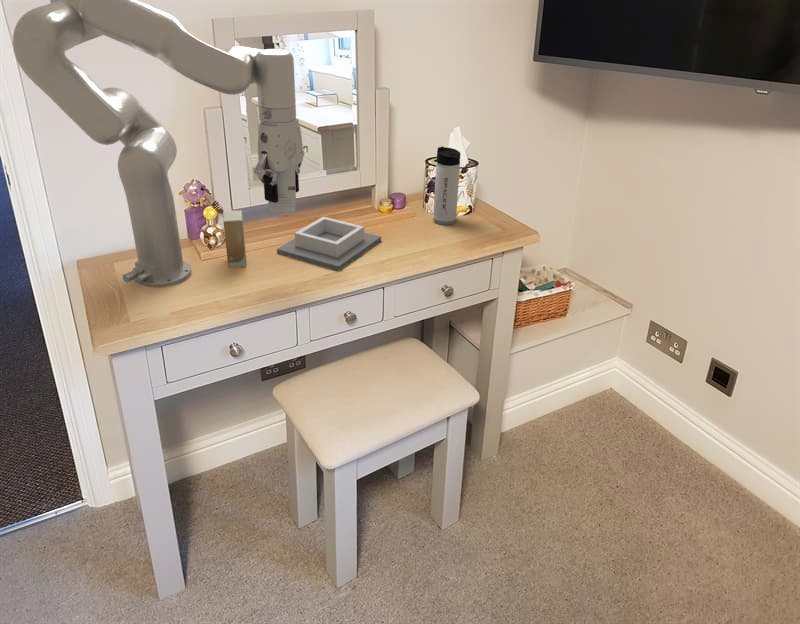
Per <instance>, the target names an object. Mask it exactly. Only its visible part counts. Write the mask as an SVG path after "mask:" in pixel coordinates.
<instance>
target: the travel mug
mask: <svg viewBox="0 0 800 624" xmlns="http://www.w3.org/2000/svg"><path fill="white" fill-rule="evenodd" d="M436 152H437V153H436V162H435V163H436V164H435V179H434V181H435V182H434V198H433V216H432V220H433V222H434V223H436V224H438V225H441V226H442V225H443V226H448V225H449V226H450V225H453V224H455V223H456V221H457V210H458V209H457V208H458V198H459V197H458V196H459V194H458V193H459V181H460V167H461V166H460V165H461V152H460V151H459V150H458V149H456V148H452V147H445V146H439V147H437V150H436Z"/></svg>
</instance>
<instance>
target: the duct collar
mask: <svg viewBox="0 0 800 624" xmlns="http://www.w3.org/2000/svg"><path fill="white" fill-rule="evenodd" d="M381 241H382V236H380V235H376V234H373V233H368V232H365V226H362V225H358V224H354V223H350V222H347V221H342V220H338V219H335V218H330V217H326V216H322V217H320V218H317V220H315V221H313V222H312V223H310V224H308V225H305V226H304V227H302V228H300V229H299V230H298V231H295V232H294V239H291V240H290V241H288V242H287V243H284V244H283V245H281V246H279V247H278V248H276V253H277V255H280V256H285V257H288V258H292V259H294V260H299V261H302V262H306V263H308V264H309V263H310V264H314V265H317V266H320V267H323V268H326V269H327V268H328V269H330V268H331V270H334V269H335V270H334V271H337V270H339V271H341V270H342V269H344V268H345V267H346V266H348V265H349V264H351V263H352V262H353V261H355V260H356V259H358V258H359V257H361V256H362V255H363V254H365V253H366V252H368V251H369V250H370V249H372V248H373V247H375V246H376V245H377V244H379V243H380V242H381ZM340 269H341V270H340Z"/></svg>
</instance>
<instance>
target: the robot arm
mask: <svg viewBox="0 0 800 624" xmlns="http://www.w3.org/2000/svg"><path fill="white" fill-rule="evenodd" d="M102 36H105V37H108V38H110V39H112V40H115V41H117V42H118V43H122V44H124V45H126V46H128V47H130V48H133V49H135V50H138V51H140V52H142V53H145V54H147V55H150V56H152V57H154V58H156V59H158V60H159V61H161V62H162V63H164V65H166V66H167V67H170V68H171V69H172V70H174V71H175V72H176V73H179V74H180V75H181V76H184V77H185V78H187V79H189V80H191V81H193V82H196V83H197V84H200V85H202V86H204V87H206V88H209V89H212V90H214V91H216V92H219V93H222V94H226V95H233V96H234V95H235V96H237V95H240V94H242V93H243V92H245V91H247V90H248V88H249V87H250V85H252V84H256V89H257V103H258V105H257V106H258V118H259V119H258V120H259V122H258V130H257V131H258V132H257V158H258V162H257V163H256V166H255V168H254V170H253V171H254V174H255V175H256V176H257V177H258V179H259V180H260V181H261V183H262V184H263V193H264V200H265V201H267V202H268V201H270V202H274V203H276V202H278V188H277V184H275V181H276V177H277V173H281V172H283V171H286V170H288V169H289V168H290V158H292V157H295V184H296V193H298V192H299V191H300V185H299V184H300V181H299V175H300V172H301V169H300V168H301V166H302V162H303V160H304V156H305V153H306V152H305V151H304V148H303V147H304V146H303V137H302V131H301V126H300V121H299V118H298V117H297V105H296V86H295V85H296V83H295V81H296V80H295V61H294V56H293V54H292V52H291V51H289V50H286V49H282V48H266V49H260V48H253V47H252V48H251V47H248V46H242V45H241V46H240V45H234V46H229V47H227V48H226V49H225V50H222V49H219V48H217V47H215V46H213V45H210V44H207V43H206V42H204V41H202V40H200V39H199V38H197V37H195V36H194V35H192V34H191V33H190V32H188V31H187V30H186V29H185V27H184V26H183V25H182V24H181V22H180V21H179V19H177V18H176V17H175V16H173V15H172V14H170V13H168V12H165V11H163V10H161V9H158V8H156V7H154V6H152V5H150V4H148V3H146V2H143V1H140V0H57V1H55V2H51V3H48V4H45V5H41V6H36V7H35V8H32V9H31V10H28V11H26V12H25V13H24V14H23V15H22V16H21V17H20V18H19V19H18V21H17V23H16V25H15V27H14V31H13V36H12V46H13V53H14V56H15V59H16V61H17V63H18V65H19V66H20V68H21V70H22V71H23V73H24V74H25V75H26V77H28V78H29V80H31V81H32V82H33V83H34V84H35V85H36V86H37V87H38V89H40V90H41V91H42V92H43V93H44V94H45V95H47V96H48V98H50V99H51V100H52V101H53V103H55V104H56V105H57V106H58V107H59V108H60V110H61V111H63V113H64V114H66V115H67V117H69V118H70V119H71V121H72V122H74V123H75V125H76V126H78V127H79V128H80V129H81V130H82V131H83V132H84V133H85V134H86V135H87V136H88V137H89V138H90V139H91V140H92V141H93V142H96V143H97V144H100V145H103V146H104V145H105V146H108V145H114V144H115V143H118V142H119V141H120V142H121V144H123V145H124V146H123V147H122V149H121V151H120V153H119V155H118V159H117V170H118V175H119V179H120V181H121V185H122V187H123V190H124V194H125V199H126V202H127V208H128V213H129V218H130V223H131V228H132V235H133V240H134V245H135V249H136V250H135V251H136V255H137V261H134V265H135V266H134V268H133V269H132V270H131V271H128V272H126V273H124V274H122V277H121V278H122V280H123V281H124V282H125V283H130V282H132V281H133V280H134V281H135V282H136V283H137V284H139V285H141V286H144V287H149V288H165V287H171V286H174V285H177V284H180V283H182V282H184V281H186V280H187V279H189V277H190V276H191V275H192V268H191V265H190V264H189V263H188V262H187V261H184V260H183V254H182V247H181V246H182V245H181V239H180V233H179V226H178V225H179V224H178V220H177V219H178V217H177V213H176V212H177V211H176V205H175V199H174V195H173V190H172V188H171V184H170V179H169V175H168V174H169V173H168V172H169V170H170V168H171V166H172V165H173V163H174V162H175V159H176V157H177V152H178V151H177V150H178V149H177V144H176V142H175V139H174V138H173V137H172V135H171V133H170V132H169V131H168V130H167V129H166V128H165V127H164V125H162V124H161V123H160V122H159V120H158V119H157V118H156V117H155V116H154V115H152V114H151V112H150V111H149V110H148V109H147V108H146V107H145V106H144V105H143V104H142V103H141V102H140V101H139V100H138V99H137V98H136V97H135V96H134V95H132V94H131V93H129V92H128V91H126V90H124V89H122V88H118V87H106V88H103V89H102V87H100V85H99V84H97V83H96V81H94V80H93V79H92V78H91V77H90V75H89V74H87V73H86V71H85V70H84V69H82V68H81V67H80V66H78V65H77V64H75V63H74V62H73V61H71V60H70V59H68V57H67V56H66V53H65V52H66V51H68V50H70V49H73V48H74V47H76V46H78V45H81V44H83V43H86V42H88V41H90V40H91V41H92V40H94V39H97V38H99V37H102ZM268 166H270V168H271V169H268ZM269 172H271V173H272V174H271V178H270V177H269V176H268V173H269Z"/></svg>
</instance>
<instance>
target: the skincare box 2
mask: <svg viewBox="0 0 800 624" xmlns="http://www.w3.org/2000/svg"><path fill="white" fill-rule="evenodd" d="M268 169H271V168H270V166H268ZM271 174H272V173H271V172H269V173H268V176H269V177H270V178H271ZM275 184H277V188H278V202H276V203H274V202H270V201H267V203H268V212H269V213H296V211H297V209H296V207H297V202H296V201H297V192H296V184H295V157H292V158H290V168H289V169H288V170H286V171H283V172H281V173H277V177H276V181H275Z"/></svg>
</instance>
